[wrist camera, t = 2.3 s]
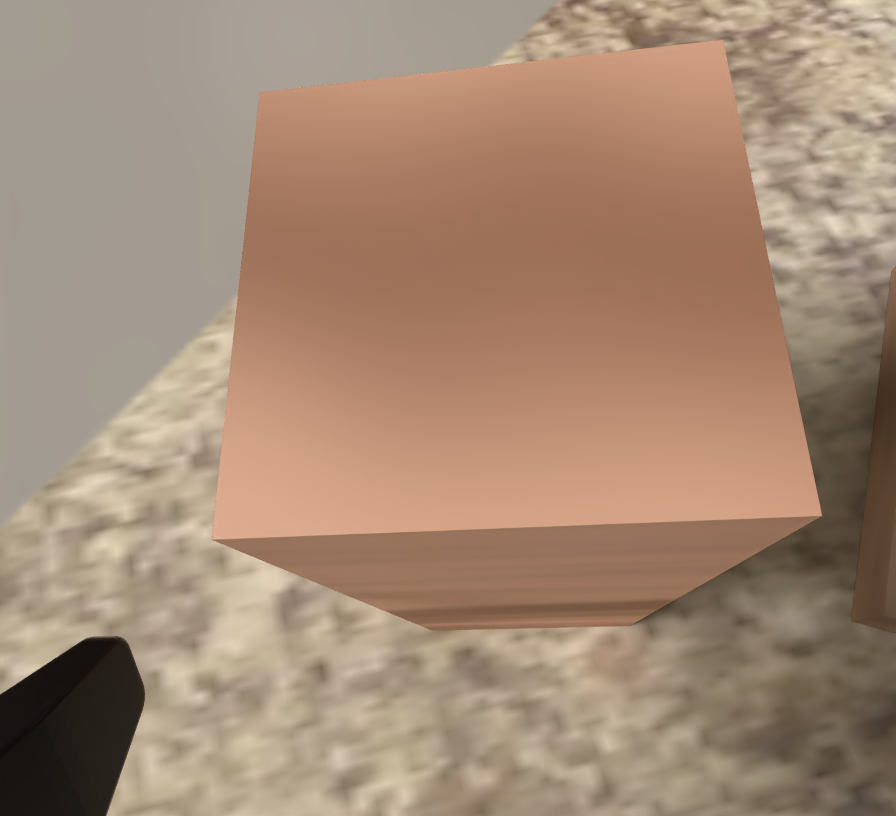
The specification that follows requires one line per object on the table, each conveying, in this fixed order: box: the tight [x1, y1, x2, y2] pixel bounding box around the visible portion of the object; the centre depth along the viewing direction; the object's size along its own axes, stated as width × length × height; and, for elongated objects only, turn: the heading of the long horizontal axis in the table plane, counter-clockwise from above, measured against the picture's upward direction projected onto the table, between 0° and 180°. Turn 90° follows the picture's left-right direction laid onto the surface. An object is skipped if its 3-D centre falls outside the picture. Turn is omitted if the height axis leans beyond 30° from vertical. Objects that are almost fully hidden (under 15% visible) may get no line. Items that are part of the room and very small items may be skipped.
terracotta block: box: [212, 40, 822, 630], centre depth 13 cm, size 5×5×13 cm
